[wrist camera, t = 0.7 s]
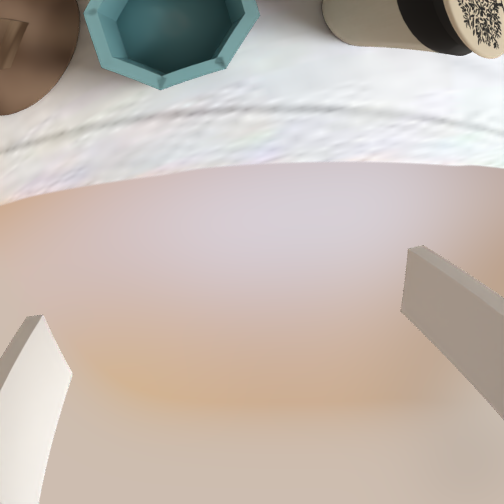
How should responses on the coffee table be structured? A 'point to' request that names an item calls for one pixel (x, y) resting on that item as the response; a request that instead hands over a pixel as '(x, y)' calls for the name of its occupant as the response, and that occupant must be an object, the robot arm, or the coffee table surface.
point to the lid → (34, 49)
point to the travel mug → (420, 25)
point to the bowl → (168, 36)
